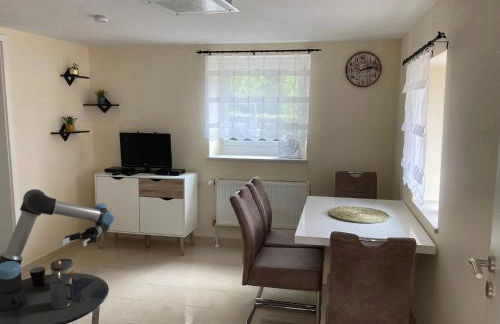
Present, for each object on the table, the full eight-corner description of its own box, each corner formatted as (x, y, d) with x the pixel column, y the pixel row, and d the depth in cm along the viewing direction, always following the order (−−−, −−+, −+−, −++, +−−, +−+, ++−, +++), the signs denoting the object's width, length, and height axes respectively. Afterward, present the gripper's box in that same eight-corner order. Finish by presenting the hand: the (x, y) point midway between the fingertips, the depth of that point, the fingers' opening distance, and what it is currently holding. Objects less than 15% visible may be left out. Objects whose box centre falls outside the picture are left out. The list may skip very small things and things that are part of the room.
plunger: (51, 301, 228) (47, 263, 225) (59, 294, 235) (55, 258, 232) (62, 302, 227) (59, 264, 224) (70, 295, 234) (67, 259, 231)
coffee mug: (40, 288, 252) (38, 273, 251) (27, 287, 254) (26, 272, 252) (52, 280, 264) (51, 265, 262) (41, 279, 265) (39, 264, 264)
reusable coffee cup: (48, 287, 254) (45, 263, 252) (67, 279, 264) (65, 257, 262) (59, 292, 247) (57, 268, 245) (78, 284, 257) (76, 261, 255)
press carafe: (47, 308, 228) (44, 281, 225) (59, 299, 238) (56, 273, 235) (67, 310, 225) (65, 282, 223) (79, 301, 235) (76, 274, 233)
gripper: (111, 239, 259) (92, 251, 238) (75, 237, 263) (53, 248, 243) (110, 227, 258) (91, 238, 237) (74, 225, 262) (52, 236, 242)
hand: (72, 243), depth 240 cm, fingers open, 13 cm apart
